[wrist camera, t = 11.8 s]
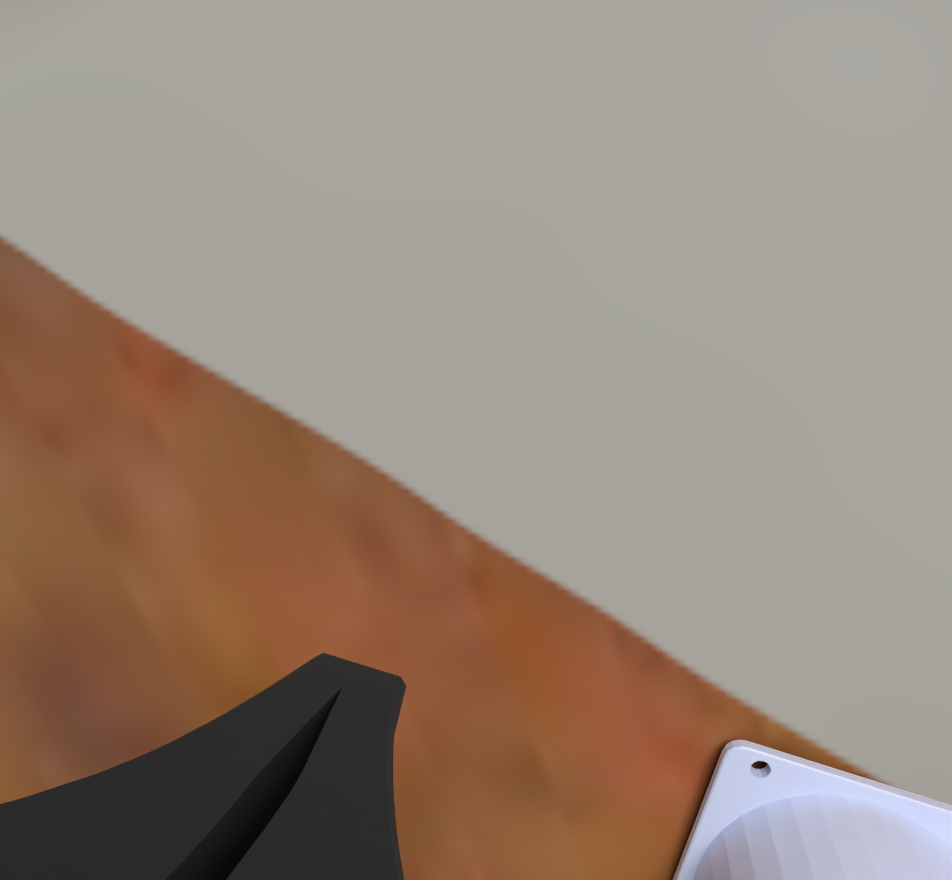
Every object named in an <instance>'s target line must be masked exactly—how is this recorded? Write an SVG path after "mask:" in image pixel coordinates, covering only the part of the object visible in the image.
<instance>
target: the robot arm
mask: <svg viewBox="0 0 952 880" xmlns="http://www.w3.org/2000/svg"><path fill="white" fill-rule="evenodd" d="M405 689H406V685H405V683H404V682H403V680H402V678H401V677H399V676H396V675H393V674H390V673H387V672H383V671H380V670H377V669H374V668H370V667H367V666H364V665H361V664H358V663H354V662H351V661H348V660H345V659H341V658H338V657H335V656H332V655H329V654H325V653H322V654H320V655H318V656H316V657H315V658H313V659H311V660H310V661H308V662H307V663H305V664H304V665H302V666H301V667H299V668H298V669H296V670H295V671H293V672H292V673H290V674H289V675H287V676H285V677H284V678H282V679H281V680H279V681H278V682H276V683H275V684H273V685H271V686H270V687H268V688H267V689H265V690H264V691H262V692H260V693H259V694H257V695H255V696H254V697H252V698H250V699H249V700H247V701H245V702H244V703H242V704H240V705H238V706H237V707H235V708H233V709H232V710H230V711H228V712H227V713H225V714H223V715H221V716H220V717H218V718H216V719H214V720H212V721H210V722H209V723H207V724H205V725H203V726H201V727H199V728H197V729H195V730H193V731H191V732H189V733H187V734H186V735H184V736H182V737H180V738H178V739H176V740H174V741H172V742H170V743H168V744H166V745H164V746H162V747H160V748H157V749H155V750H153V751H151V752H149V753H147V754H144V755H142V756H140V757H137V758H135V759H133V760H130V761H128V762H125V763H123V764H120V765H118V766H115V767H113V768H111V769H108V770H105V771H103V772H100V773H97V774H95V775H92V776H89V777H86V778H83V779H80V780H77V781H73V782H70V783H67V784H64V785H61V786H58V787H55V788H52V789H49V790H46V791H43V792H40V793H37V794H34V795H31V796H28V797H25V798H21V799H18V800H14V801H11V802H7V803H3V804H0V880H404V877H403V871H402V865H401V859H400V853H399V846H398V838H397V829H396V820H395V807H394V792H393V743H394V733H395V729H396V725H397V721H398V717H399V713H400V709H401V705H402V701H403V697H404V693H405ZM757 761H764V762H766V763H768V764H767V765H766V766H765V767H764V768H761V769H755V768H753V767H752V766H751V765H752V764H753V763H754V762H757ZM673 880H952V805H950V804H946V803H943V802H940V801H937V800H933V799H930V798H927V797H924V796H921V795H918V794H915V793H911V792H908V791H905V790H902V789H899V788H896V787H892V786H889V785H886V784H883V783H880V782H876V781H873V780H870V779H867V778H864V777H861V776H857V775H854V774H851V773H848V772H845V771H841V770H838V769H835V768H832V767H829V766H826V765H822V764H819V763H816V762H813V761H810V760H806V759H803V758H800V757H797V756H794V755H791V754H787V753H784V752H781V751H778V750H775V749H771V748H768V747H765V746H762V745H759V744H756V743H752V742H749V741H746V740H734V741H731V742H729V743H728V744H726V745H725V747H724V748H723V750H722V752H721V755H720V757H719V760H718V762H717V765H716V768H715V770H714V773H713V775H712V778H711V781H710V783H709V786H708V789H707V791H706V794H705V796H704V799H703V802H702V804H701V807H700V809H699V812H698V815H697V817H696V820H695V823H694V825H693V828H692V830H691V833H690V836H689V838H688V841H687V843H686V846H685V849H684V851H683V854H682V857H681V859H680V862H679V864H678V867H677V870H676V872H675V875H674V877H673Z"/></svg>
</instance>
